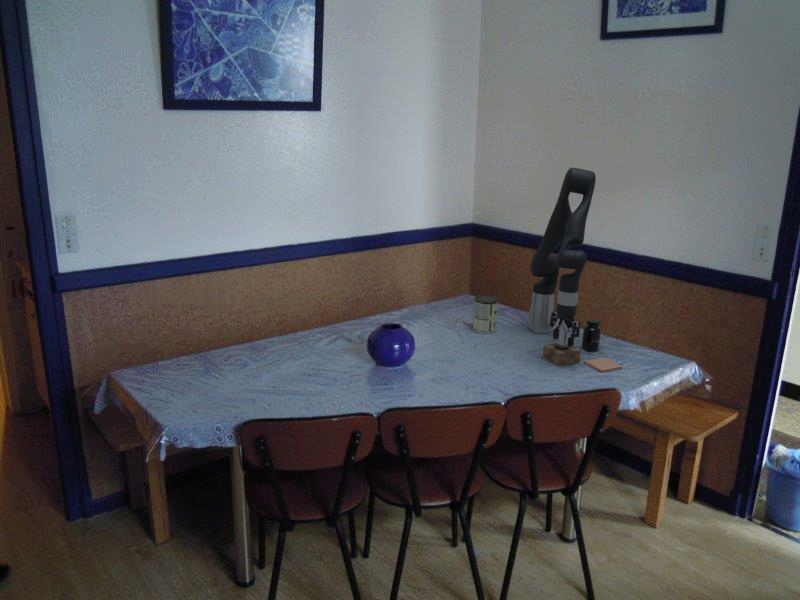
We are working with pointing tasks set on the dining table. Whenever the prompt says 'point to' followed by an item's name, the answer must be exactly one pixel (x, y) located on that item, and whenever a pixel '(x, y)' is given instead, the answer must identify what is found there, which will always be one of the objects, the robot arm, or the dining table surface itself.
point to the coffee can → (485, 313)
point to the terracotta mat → (603, 364)
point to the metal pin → (562, 338)
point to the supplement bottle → (591, 335)
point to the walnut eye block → (561, 355)
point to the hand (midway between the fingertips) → (562, 342)
